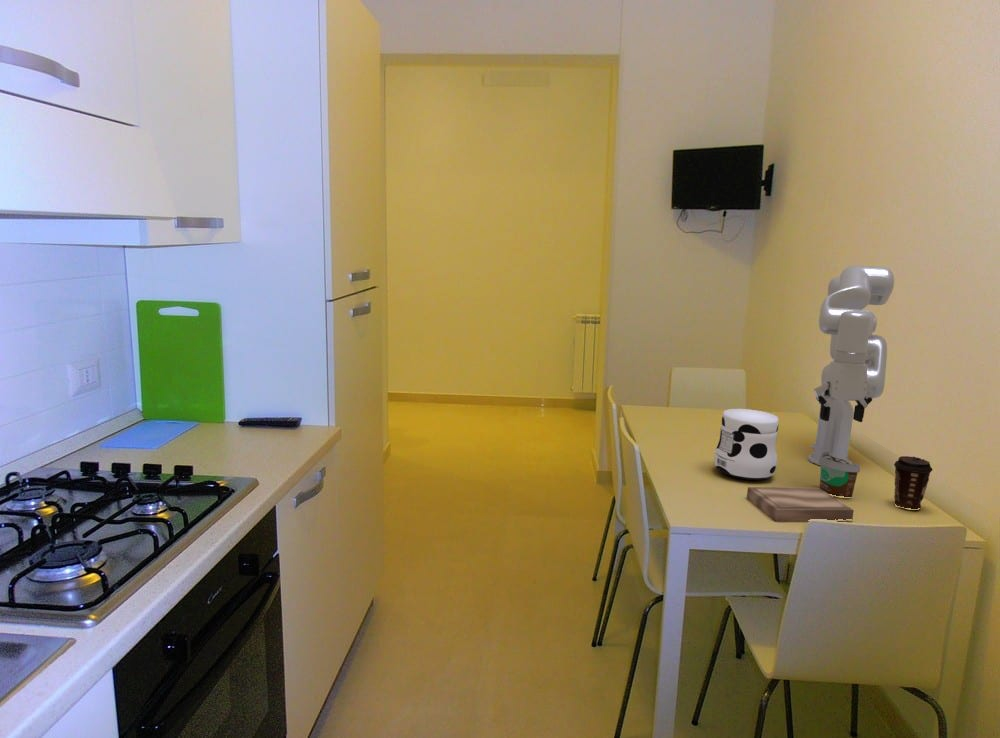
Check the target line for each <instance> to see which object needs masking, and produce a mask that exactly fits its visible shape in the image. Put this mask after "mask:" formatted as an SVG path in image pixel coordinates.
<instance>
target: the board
mask: <svg viewBox="0 0 1000 738" xmlns="http://www.w3.org/2000/svg"><path fill="white" fill-rule="evenodd" d="M746 499H747V500H749V501H750V502H751V503H752V504H754V505H755V506H756V507H757V508H759V509H760V510H761V511H762V512H763V513H765V514H766V515H768V517H769V518H770V519H772V520H773V521H774V522H776V523H777V522H778V523H779V522H780V523H782V522H783V523H784V522H789V523H790V522H793V523H794V522H795V523H796V522H798V523H800V522H803V523H805V522H806V521H808V520H810V519H827V520H835V519H836V520H838V519H843V520H846V519H852V520H853V518H854V511H855V510H854V509H852V508H851V507H849V506H848V505H846V504H845V503H843V502H841V501H840V500H838V499H837V497H832V496H831V495H829V494H828V493H826V492H825V491H823V490H822V489H820V487H798V486H797V487H796V486H795V487H791V486H790V487H787V486H786V487H782V486H781V487H776V486H775V487H774V486H769V487H768V486H766V487H764V486H748V487H747V491H746Z"/></svg>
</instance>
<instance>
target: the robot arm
mask: <svg viewBox="0 0 1000 738" xmlns="http://www.w3.org/2000/svg"><path fill="white" fill-rule="evenodd" d="M894 286H895V276H894V274H893V271H892V270H891V269H890V268H888V267H885V266H873V265H872V266H871V265H851V266H848V267H846V268H844V269H843V270H842V271H841V274H840V275H839V276H835V277H833V278H832V279H830V281H829V283H828V286H827V297H825V299H823V301H822V304H821V306H820V309H819V317H818V327H819V330H820V331H821V333H823V334H824V335H825V334H826V335H830V344H829V354H830V358H831V359H832V360H833V361H830V362H829V364H827V365H825V366H824V367H823V369H822V371H821V377H820V378H821V379H820V380H821V385H820V386H818V387H816V388H814V389H813V392H814V395H815V399H816V401H817V402H819V415H818V422H817V431H816V436H815V437H816V439H815V444H811V446H810V447H811V448H812V449H813V453H809V455H808V457H807V460H808V461H809V462H810V463H812V464H814V463H815V465H818V466H820V465H821V464H820V463H819V458H820V456H821V455H822V453H824V452H829V455H830V456H832V457H834V458H838V459H842V460H844V461H846V462H848V463H849V464H853V462H852V460H850V459H849V458H848V453H849V448H850V440H851V433H852V427H853V421H857V422H859V423H863V420H864V415H865V409H866V408H867V407H868V405H870V403H871V402H872V401H873V399H877V398H879V397H881V396H882V395H883V392H884V390H885V383H886V372H887V371H886V370H887V361H888V360H887V357H888V344H887V340H886V339H885V338H884V337H883V336H882V335H878V334H873V333H875V331H876V329H877V326H878V325H877V324H878V320H877V316H875V314H874V312H872V311H871V310H866V309H865V308H866V307H867V306H868V305H869V306H883V305H886V304H887V302H888V300H889V299H890V296H891V295H892V293H893V290H894ZM851 401H852V402H853V401H854V402H855V405H854V408H853V404H852V403H851Z"/></svg>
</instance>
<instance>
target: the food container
mask: <svg viewBox="0 0 1000 738" xmlns="http://www.w3.org/2000/svg"><path fill="white" fill-rule="evenodd" d="M819 463H820V464H821V466H820V475H819V476H820V478H819V479H820V480H819V488H820V489H822V490H823V491H825V492H826V493H828V494H832V495H836V496H844V497H852V498H853V494H854V490H855V484H856V481H857V477H858V473H860V472H861V471H860V470H861V469H860V468H861V467H860V464H859V463H858V464H857V463H856V464H854V463H852V464H849V463H848V462H846V461H844V460H842V459H838V458H834V457H832V456H830V455H829V452H824V453H822V455H821V456H820V458H819Z"/></svg>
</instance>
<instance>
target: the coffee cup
mask: <svg viewBox="0 0 1000 738" xmlns="http://www.w3.org/2000/svg"><path fill="white" fill-rule="evenodd" d="M893 465H894V467H895V469H894V473H895V475H894V477H895V478H894V496H893V497H894V502H893V504H894V503H895V504H896V505H897V506H900V507H904V508H911V509H918V508H921V509H922V506H921V502H922V501H923V499H924V498H925V493H926V491H927V487H928V483H929V481H930V480H929V479H930V474H931V473H932V471H933V468H932V466H931V464H930V461H928V460H926V459H924V458H920V457H915V456H907V455H905V456H899V457H898V460H896V461H895V462H894V464H893Z"/></svg>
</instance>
